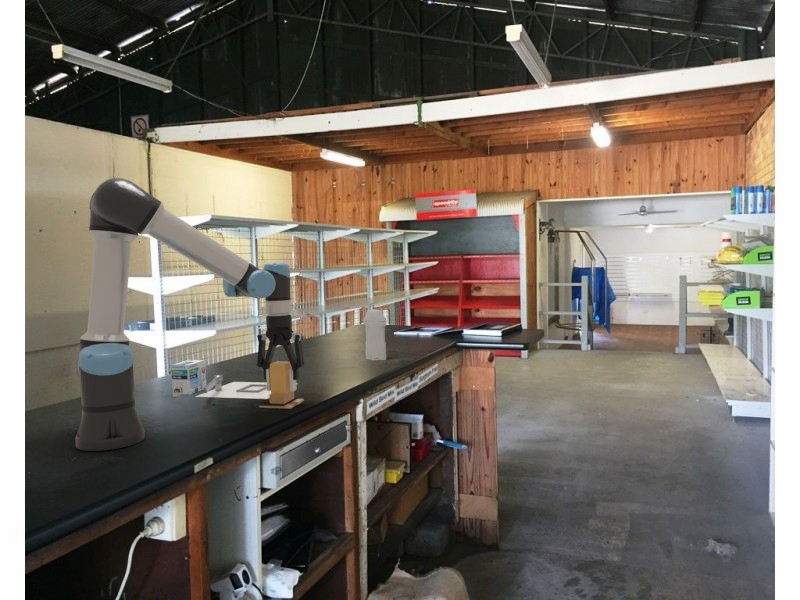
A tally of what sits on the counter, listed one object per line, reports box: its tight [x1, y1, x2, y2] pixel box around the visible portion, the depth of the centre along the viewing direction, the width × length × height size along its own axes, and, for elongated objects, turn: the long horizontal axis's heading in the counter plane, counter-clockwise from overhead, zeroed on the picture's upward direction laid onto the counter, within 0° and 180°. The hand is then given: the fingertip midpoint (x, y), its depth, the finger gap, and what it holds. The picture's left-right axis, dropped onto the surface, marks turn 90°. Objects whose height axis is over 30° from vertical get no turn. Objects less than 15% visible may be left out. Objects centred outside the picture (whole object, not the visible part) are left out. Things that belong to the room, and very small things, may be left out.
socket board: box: [194, 381, 299, 400], centre depth 199 cm, size 24×25×4 cm
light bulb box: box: [170, 359, 207, 398], centre depth 200 cm, size 11×7×11 cm, turn 169°
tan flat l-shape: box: [259, 398, 305, 409], centre depth 182 cm, size 10×10×1 cm
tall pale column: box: [363, 308, 387, 361], centre depth 261 cm, size 11×4×22 cm, turn 67°
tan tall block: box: [268, 360, 295, 405], centre depth 181 cm, size 7×5×12 cm
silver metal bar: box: [202, 374, 224, 394], centre depth 190 cm, size 3×22×2 cm, turn 6°
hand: (281, 390), depth 181 cm, fingers open, 7 cm apart
